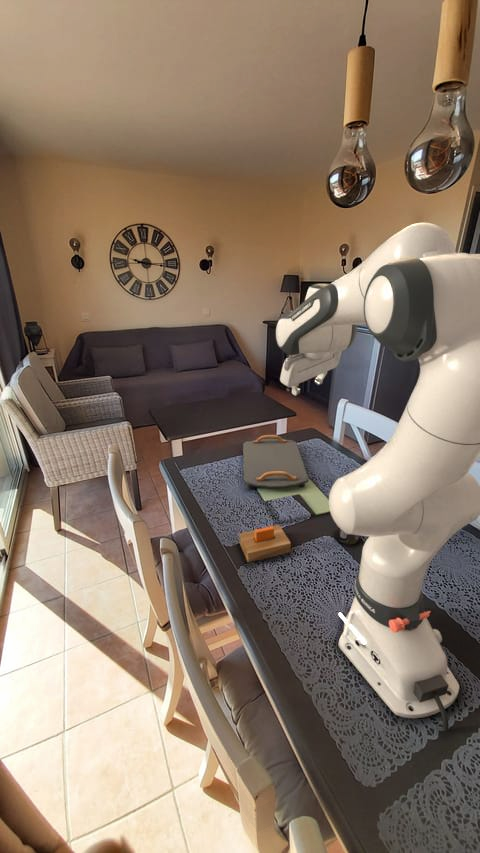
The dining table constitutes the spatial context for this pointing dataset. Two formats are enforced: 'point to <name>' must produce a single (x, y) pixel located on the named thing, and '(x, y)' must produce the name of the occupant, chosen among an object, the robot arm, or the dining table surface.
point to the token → (264, 534)
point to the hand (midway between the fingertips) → (307, 388)
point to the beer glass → (347, 537)
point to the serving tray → (273, 463)
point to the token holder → (264, 545)
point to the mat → (308, 493)
